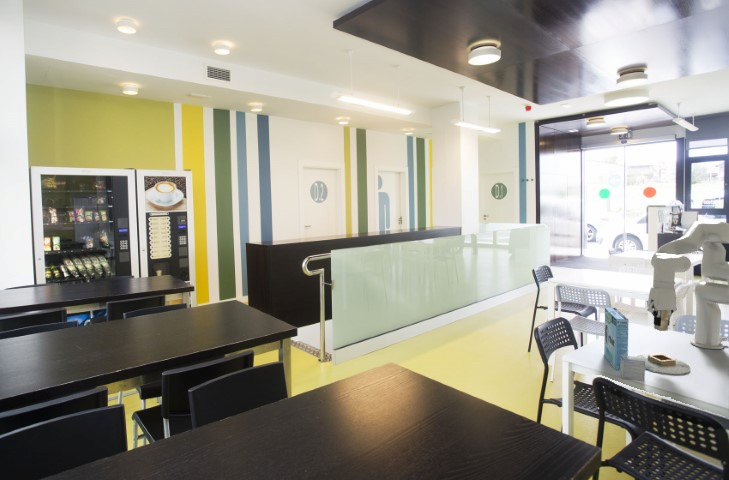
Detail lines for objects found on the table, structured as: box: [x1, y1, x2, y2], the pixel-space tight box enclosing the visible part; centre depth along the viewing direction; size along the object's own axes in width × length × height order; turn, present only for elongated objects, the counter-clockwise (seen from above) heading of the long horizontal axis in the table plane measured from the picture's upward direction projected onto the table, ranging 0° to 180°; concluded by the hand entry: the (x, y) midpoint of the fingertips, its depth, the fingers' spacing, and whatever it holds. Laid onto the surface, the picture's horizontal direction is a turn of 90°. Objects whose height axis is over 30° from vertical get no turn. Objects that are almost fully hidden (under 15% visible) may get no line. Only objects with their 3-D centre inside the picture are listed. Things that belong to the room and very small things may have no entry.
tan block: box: [653, 310, 669, 332], centre depth 183 cm, size 4×4×10 cm
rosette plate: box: [635, 353, 691, 376], centre depth 183 cm, size 20×20×4 cm
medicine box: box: [619, 355, 646, 382], centre depth 171 cm, size 8×4×9 cm, turn 71°
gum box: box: [603, 307, 629, 371], centre depth 186 cm, size 20×5×23 cm, turn 162°
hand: (661, 324), depth 183 cm, fingers closed on tan block, 3 cm apart
